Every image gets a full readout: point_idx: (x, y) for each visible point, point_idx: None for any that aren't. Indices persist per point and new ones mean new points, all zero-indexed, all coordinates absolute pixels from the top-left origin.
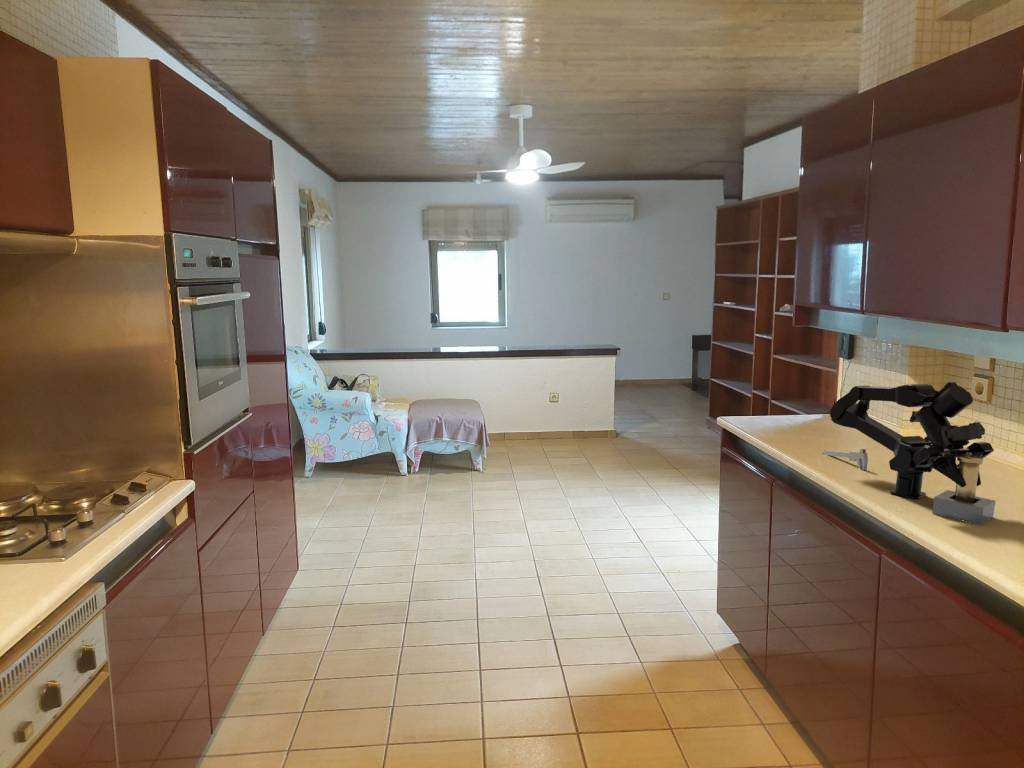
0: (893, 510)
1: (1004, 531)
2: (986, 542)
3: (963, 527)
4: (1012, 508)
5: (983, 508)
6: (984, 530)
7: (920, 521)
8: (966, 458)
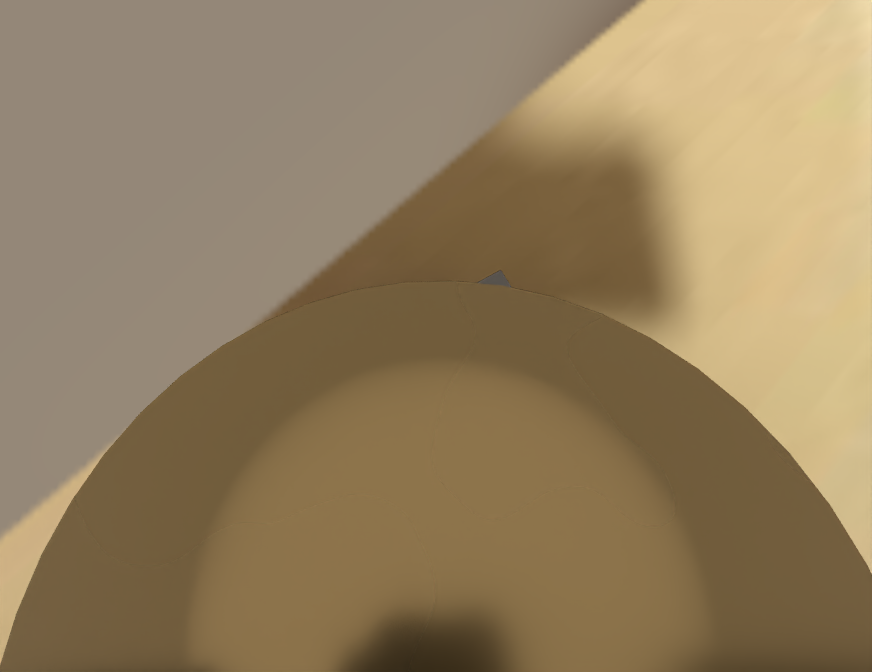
0: None
1: (443, 220)
2: (656, 118)
3: (612, 294)
4: (37, 525)
5: (494, 274)
6: (534, 244)
7: (804, 413)
8: (770, 565)
